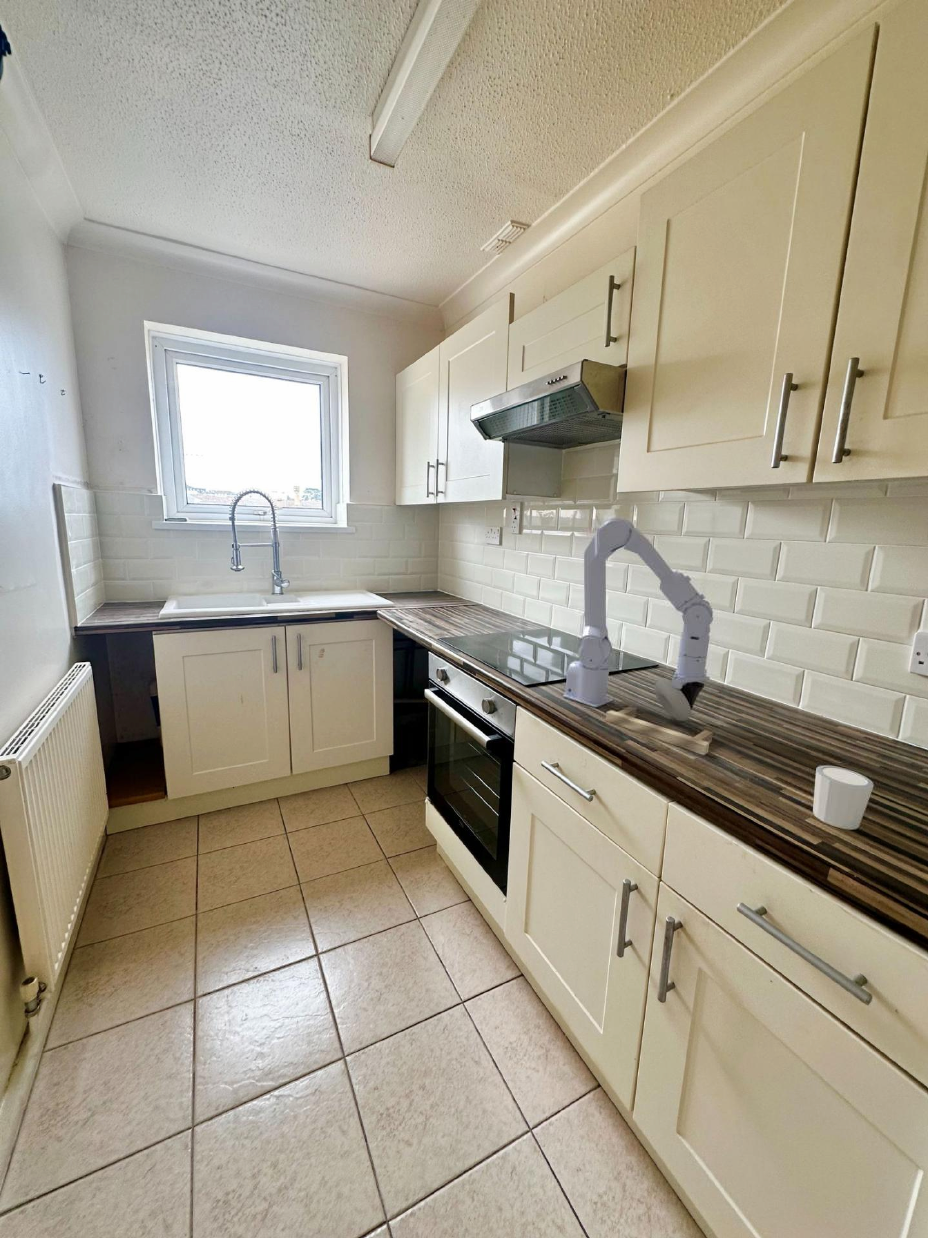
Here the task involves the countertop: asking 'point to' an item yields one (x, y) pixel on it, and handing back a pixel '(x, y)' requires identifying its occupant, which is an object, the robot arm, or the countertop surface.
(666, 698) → the white rubber ring
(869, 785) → the white cylinder
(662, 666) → the countertop surface
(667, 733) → the drawer pull handle
